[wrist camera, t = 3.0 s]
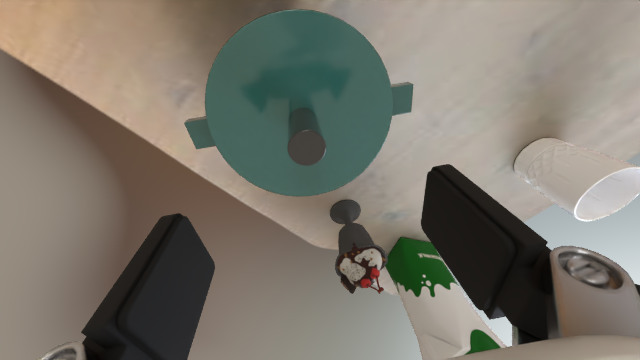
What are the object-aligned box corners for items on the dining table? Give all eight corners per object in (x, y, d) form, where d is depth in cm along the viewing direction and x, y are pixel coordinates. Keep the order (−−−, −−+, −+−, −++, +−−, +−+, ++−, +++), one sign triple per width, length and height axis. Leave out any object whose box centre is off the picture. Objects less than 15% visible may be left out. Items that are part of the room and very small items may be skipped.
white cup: (500, 180, 38) (561, 223, 29) (524, 133, 33) (603, 168, 25) (544, 178, 38) (615, 219, 30) (573, 132, 34) (665, 165, 26)
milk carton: (438, 239, 44) (531, 369, 27) (413, 270, 48) (480, 398, 31) (398, 232, 41) (473, 368, 25) (376, 265, 46) (427, 400, 29)
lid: (174, 29, 15) (115, 28, 10) (389, -6, 16) (439, -24, 11) (243, 200, 23) (230, 249, 18) (386, 175, 24) (413, 216, 18)
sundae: (361, 189, 35) (401, 276, 23) (368, 220, 39) (405, 310, 27) (320, 201, 36) (336, 293, 23) (330, 231, 39) (349, 324, 27)
